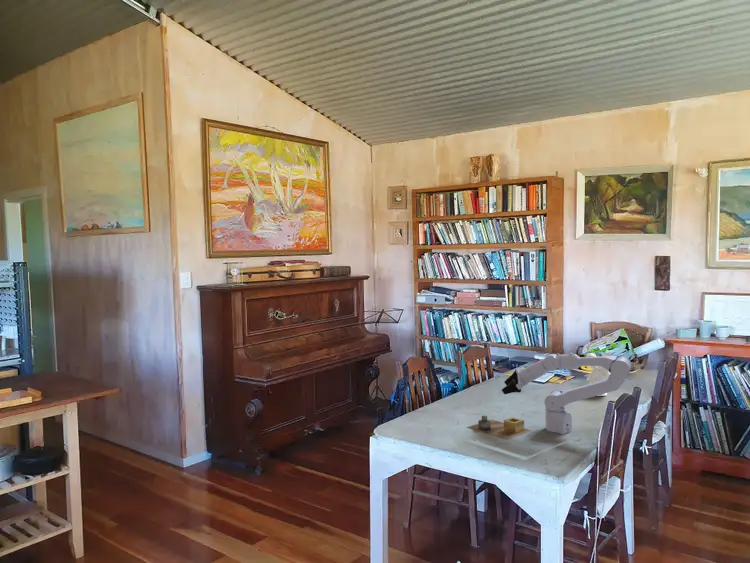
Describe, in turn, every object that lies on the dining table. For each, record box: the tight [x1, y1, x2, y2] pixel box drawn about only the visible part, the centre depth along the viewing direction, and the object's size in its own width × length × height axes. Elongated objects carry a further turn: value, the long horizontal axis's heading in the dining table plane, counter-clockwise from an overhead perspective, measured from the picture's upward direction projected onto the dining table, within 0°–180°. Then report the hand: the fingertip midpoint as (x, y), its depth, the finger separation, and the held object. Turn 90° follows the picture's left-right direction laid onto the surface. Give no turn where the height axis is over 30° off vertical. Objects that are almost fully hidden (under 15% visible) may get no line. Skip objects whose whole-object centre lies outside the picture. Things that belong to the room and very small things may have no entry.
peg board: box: [466, 415, 533, 441], centre depth 226 cm, size 20×16×6 cm
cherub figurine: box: [585, 351, 612, 397], centre depth 281 cm, size 12×12×22 cm
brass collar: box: [503, 417, 525, 434], centre depth 224 cm, size 6×6×4 cm
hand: (504, 387), depth 234 cm, fingers open, 7 cm apart
